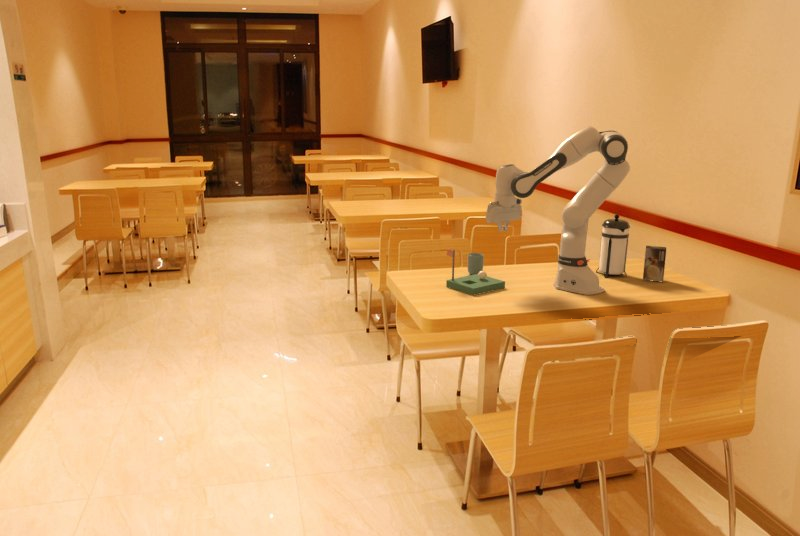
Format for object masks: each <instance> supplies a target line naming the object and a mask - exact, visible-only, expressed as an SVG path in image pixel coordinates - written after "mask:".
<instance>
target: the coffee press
mask: <svg viewBox="0 0 800 536" xmlns="http://www.w3.org/2000/svg"><path fill="white" fill-rule="evenodd" d="M601 227H602V230H601V238H600V240H601V241H600V251H599V261H598V262H599V263H598V268H597V269H596V270H595V272H596V273H597V272H598V270H599V272H601V273H602V274H604V278H606V277H607V278H610V277H609V276H610V275H621V276H622V277H623V278H625V277H627V276H628V274H627V272H626V263H627V255H628V246H629V245H628V244H629V237H630V233H629V232H630V229H631V225H630V223H629V221H627V220H624V219H621V218H620V215H619V214H615V215H614V218H608V219H605V220H604V221H603V223H602V224H601ZM623 273H624V274H623ZM624 276H625V277H624ZM607 278H606V279H607Z"/></svg>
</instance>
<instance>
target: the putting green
mask: <svg viewBox="0 0 800 536" xmlns="http://www.w3.org/2000/svg"><path fill="white" fill-rule="evenodd" d="M455 252H456V251H455V249H449V248H446V256H447V257H452V268H451V270H452V271H451V272H452V273H451V279H447V280H446V285H445V286H447V287H446V288H449V287H450V288H449V289H452V288H453V290H455V289H456V290H455V291H458V290H459V291H458V292H461V291H462V293H464V292H465V293H464V294H467V293H468V294H467V295H470V294H472V295H471V296H475V295H474V294H477V295H480V294H479V293H481V294H484V293H483V292H485V293H489V292H488V291H490V292H493V291H492V290H494V291H497V289H498V290H501V289H506V281H505V280H502V279H498V278H494V277H491V276H487V277H486V278H485V279H484V280H481V279H479V278H478V274H474V275H471V274H469V275H465V276H461V277H456V278H455V257H456V256H455V255H456V254H455Z"/></svg>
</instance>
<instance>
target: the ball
mask: <svg viewBox="0 0 800 536" xmlns="http://www.w3.org/2000/svg"><path fill="white" fill-rule="evenodd" d="M486 277H487V272H486V271H485V270H483V271H480V272H479V273H478V278H479V279H481V280H484V279H485V278H486Z"/></svg>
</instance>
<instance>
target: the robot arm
mask: <svg viewBox="0 0 800 536" xmlns="http://www.w3.org/2000/svg"><path fill="white" fill-rule="evenodd" d="M628 150H629V144H628V141H627V139H626V137H624V135H623V134H622V133H619V132H618V131H617V130H616V131H615V130H605V131H598V129H597V128H595V127H593V126H585V127H584V128H581V129H580V130H577V131H576V132H574V133H573V134H571V135H570V136H568V137H567V138H566V139H564V140H563V141H562V142H561V143H560V144H558V145H557V147H556V148H555V149H554V151H552V153H551V155H550V156H549V157H548V158H546V160H544V162H542V163H540V164H539V165H538V166H536V167H535V168H533V169H532V170H530V171H529V172H527V171H525V170H522V169H520V168H519V167H517V166H516V165H515V164H512V163H511V164H504V165H500V166H499V167H498V168H497V170H496V173H495V182H494V183H495V184H494V185H495V192H494V201H491V202H489V203H488V205H487V207H486V212H485V222H486V223H488V224H496V226H497V231H498V232H499V233H501V232H505V231H506V232H507V231H508V227H509V225H510V223H511V221H517V220H520V219H521V217H522V207H523V206H522V203H523V199H525V198H529V197H530V196H531V195H532V194H533V193H534V191H535V189H536V188H537V186H538V185H540V183H542V182H543V181H545V180H546V179H548V178H549V177H551V175H553V174H555V173H556V172H558V171H560V170H562V169H565V168H568V167H570V166H572V165H575V164H576V163H578V162H580V161H581V160H583V159H584V158H585V157H587V156H588V155H590V154H592V153H595V152H599V153H600V154H601V155H602V156H603V158H604V162H603V164H602V165H601V167H599V168H598V170H597V171H596V172H595V173H594V174H593V175H592V176H591V177H590V178H589V180H587V182H586V183H585V184H584V185H583V186H582V187H581V188H580V189H579V191H578V192H577V193H576V194H575V195H574V196H573V198H572V199H571V200H570V201H568V202H567V203H566V204H565V205H564V207H563V209H562V211H561V219H562V226H561V227H562V228H561V236H560V245H559V246H560V247H559V254H558V259H557V263H558V266H557V271H556V272H557V273H556V277H555V279H554V282H553V286H554V287H555V289H556V290H561V291H566V292H570V293H574V294H575V293H576V294H580V295H586V296H590V295H592V296H593V295H597V294H601V293H603V292H604V291H605V288H604V287H603V286H600V279H599V276H598V275H597V273H595V272H594V270H592V269H591V268H590V267H589V265H588V263H590V260H591V259H587V256H586V248H587V247H586V246H587V235H588V229H589V228H588V227H589V219H590V218H591V217H592V216H593V215H594V214H595V213H596V211H597V210H598V209H599V208H600V207H601V206H602V204H603V203H604V202H605V201H606V200H607V199H608V198H609V197H610V196H611V194H612V193H614V191H615V190H616V189H617V188H618V187H619V186H620V185H621V183H622V182H623V181H624V180H625V178H626V176H627V175H628V174H629V172H630V170H631V166H630V164H629V163H630V162H628V161H627V160H626V158H627V154H628ZM503 223H504V225H503ZM502 225H503V226H502Z"/></svg>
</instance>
